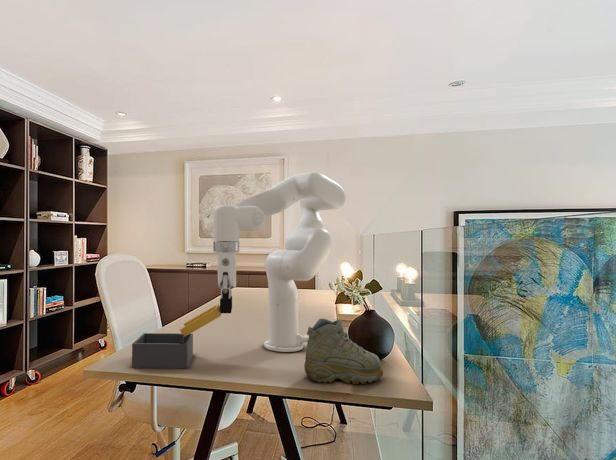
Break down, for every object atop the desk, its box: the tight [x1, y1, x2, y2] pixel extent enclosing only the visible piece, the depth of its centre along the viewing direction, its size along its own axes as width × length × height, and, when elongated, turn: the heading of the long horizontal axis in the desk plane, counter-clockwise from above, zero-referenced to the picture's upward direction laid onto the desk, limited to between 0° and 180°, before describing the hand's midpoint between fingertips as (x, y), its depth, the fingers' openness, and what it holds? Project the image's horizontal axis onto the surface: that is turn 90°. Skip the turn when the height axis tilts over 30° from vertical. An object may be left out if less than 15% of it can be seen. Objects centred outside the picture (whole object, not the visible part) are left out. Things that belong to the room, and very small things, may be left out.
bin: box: [131, 332, 194, 369], centre depth 111 cm, size 15×12×9 cm
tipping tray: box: [179, 300, 233, 337], centre depth 110 cm, size 16×8×3 cm, turn 89°
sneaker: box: [304, 318, 384, 385], centre depth 97 cm, size 11×19×15 cm, turn 78°
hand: (226, 310), depth 110 cm, fingers closed on tipping tray, 4 cm apart
